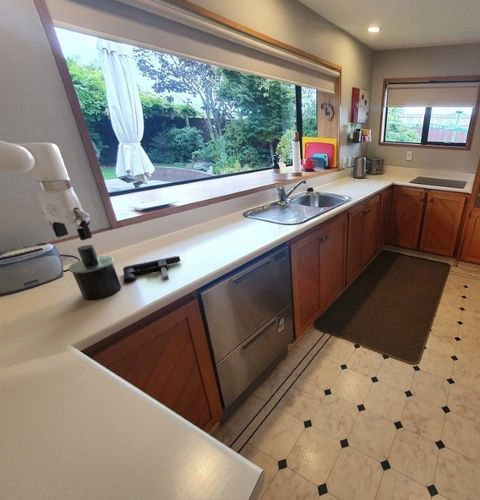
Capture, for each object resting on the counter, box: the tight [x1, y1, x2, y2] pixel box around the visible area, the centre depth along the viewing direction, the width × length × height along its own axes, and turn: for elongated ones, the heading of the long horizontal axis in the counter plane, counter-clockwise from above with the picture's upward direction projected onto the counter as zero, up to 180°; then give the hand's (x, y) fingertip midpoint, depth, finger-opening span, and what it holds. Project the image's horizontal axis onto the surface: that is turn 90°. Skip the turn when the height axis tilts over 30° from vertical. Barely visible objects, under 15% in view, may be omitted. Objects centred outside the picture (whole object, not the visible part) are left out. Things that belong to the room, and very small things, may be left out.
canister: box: [71, 262, 122, 301], centre depth 98 cm, size 10×10×12 cm
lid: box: [68, 244, 115, 274], centre depth 94 cm, size 12×12×7 cm
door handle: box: [122, 255, 181, 284], centre depth 114 cm, size 3×20×16 cm
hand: (74, 237), depth 93 cm, fingers open, 9 cm apart
